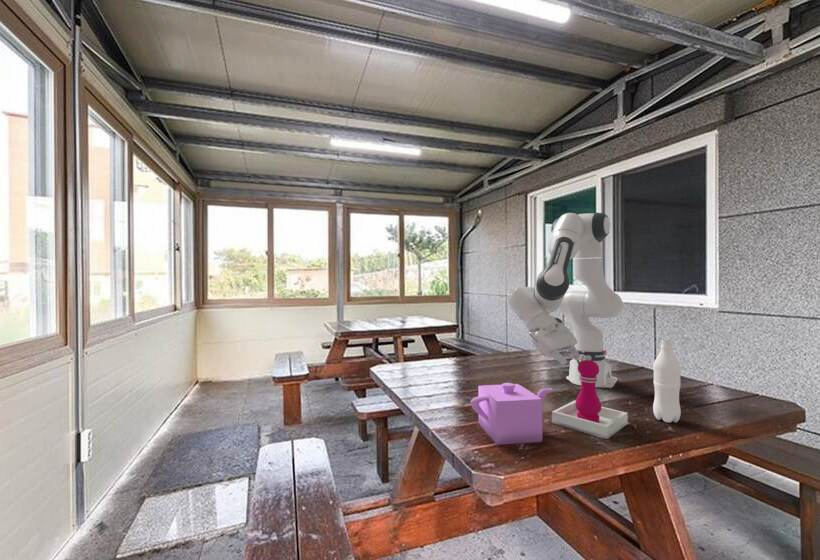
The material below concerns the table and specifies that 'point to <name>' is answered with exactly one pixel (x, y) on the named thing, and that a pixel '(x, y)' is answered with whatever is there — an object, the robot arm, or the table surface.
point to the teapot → (510, 413)
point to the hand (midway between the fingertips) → (571, 361)
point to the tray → (604, 429)
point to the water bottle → (667, 384)
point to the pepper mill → (588, 391)
